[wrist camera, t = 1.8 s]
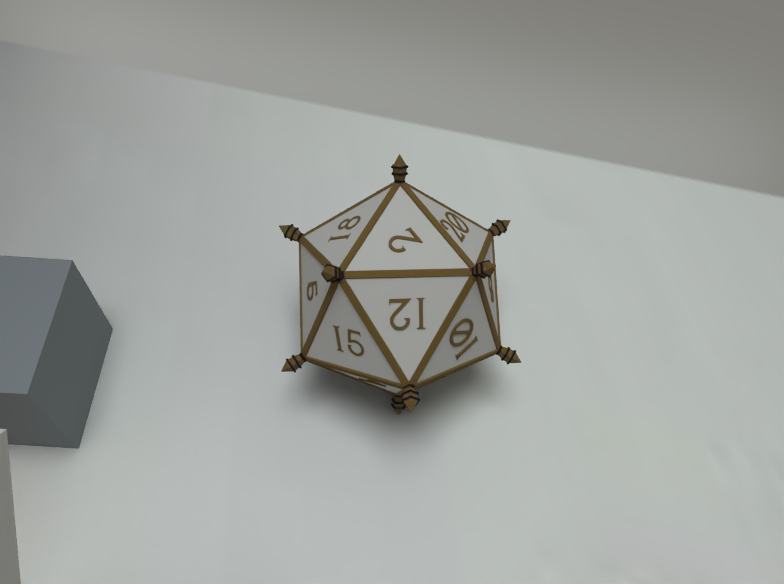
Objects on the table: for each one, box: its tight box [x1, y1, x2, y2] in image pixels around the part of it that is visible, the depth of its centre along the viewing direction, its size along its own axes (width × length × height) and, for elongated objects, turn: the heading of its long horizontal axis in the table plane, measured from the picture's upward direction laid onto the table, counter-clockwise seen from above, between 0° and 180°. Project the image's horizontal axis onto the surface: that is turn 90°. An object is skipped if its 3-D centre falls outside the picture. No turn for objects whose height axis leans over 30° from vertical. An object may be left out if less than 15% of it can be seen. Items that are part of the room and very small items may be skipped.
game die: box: [279, 154, 521, 414], centre depth 26 cm, size 9×8×10 cm
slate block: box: [0, 256, 113, 448], centre depth 26 cm, size 5×5×5 cm
